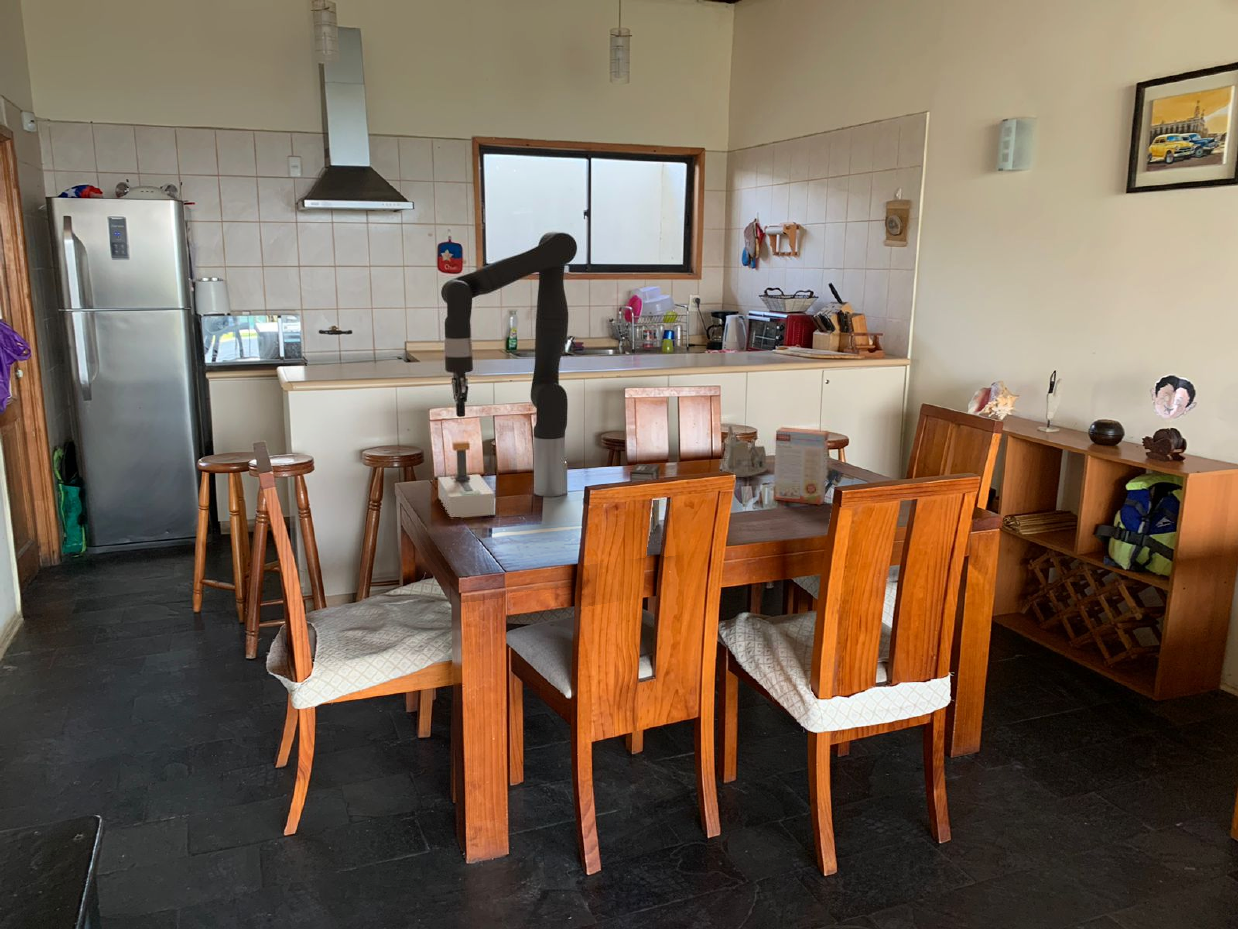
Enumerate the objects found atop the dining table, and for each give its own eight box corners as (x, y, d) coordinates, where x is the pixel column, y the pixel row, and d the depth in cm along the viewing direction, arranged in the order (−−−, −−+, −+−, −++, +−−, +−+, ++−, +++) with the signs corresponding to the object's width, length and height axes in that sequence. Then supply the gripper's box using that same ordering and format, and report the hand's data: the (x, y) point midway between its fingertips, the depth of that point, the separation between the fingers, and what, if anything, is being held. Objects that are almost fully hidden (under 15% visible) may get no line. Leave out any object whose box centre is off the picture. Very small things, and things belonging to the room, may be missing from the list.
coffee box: (635, 521, 248) (636, 463, 244) (659, 523, 246) (660, 464, 243) (629, 531, 239) (629, 471, 235) (653, 533, 238) (654, 472, 234)
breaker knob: (468, 477, 266) (467, 440, 264) (470, 480, 263) (469, 442, 261) (453, 478, 265) (452, 441, 262) (455, 481, 262) (453, 443, 259)
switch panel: (479, 494, 273) (479, 473, 271) (494, 514, 253) (494, 492, 251) (438, 497, 269) (437, 476, 268) (450, 518, 249) (449, 496, 247)
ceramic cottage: (722, 476, 296) (726, 429, 293) (717, 466, 312) (721, 422, 309) (770, 479, 296) (775, 433, 293) (763, 469, 312) (768, 425, 309)
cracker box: (825, 500, 269) (829, 430, 264) (820, 506, 264) (824, 434, 259) (778, 495, 275) (781, 425, 270) (772, 500, 269) (775, 429, 264)
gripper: (476, 356, 250) (478, 419, 254) (467, 351, 262) (469, 411, 266) (448, 357, 247) (451, 421, 251) (441, 351, 259) (443, 412, 263)
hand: (460, 416), depth 259 cm, fingers closed
